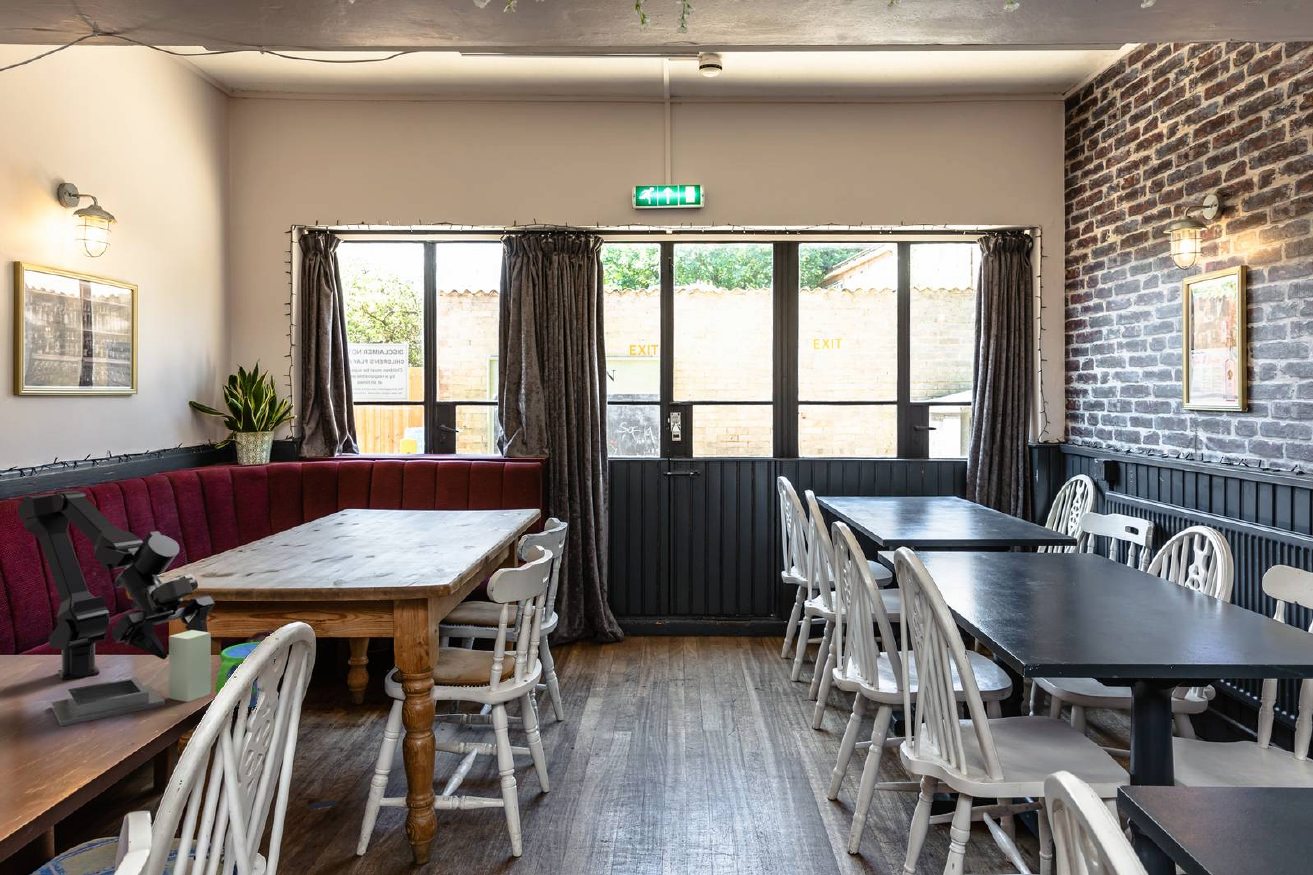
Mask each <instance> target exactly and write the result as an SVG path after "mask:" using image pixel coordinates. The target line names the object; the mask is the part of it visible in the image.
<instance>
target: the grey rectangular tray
mask: <svg viewBox="0 0 1313 875" xmlns="http://www.w3.org/2000/svg"><path fill="white" fill-rule="evenodd" d="M165 703H166V702H165V698H163V697H162V696H161V695H160V694H159V692H157V690H156V689H155V687H154V686H152V685H151V684H150V683H149V684H144V685H143V684H142V683H141V681H140V680H138V678H137V677H131V678H125V679H120V680H119V679H118V680H114V681H108V682H102V683H96V684H92V685H91V684H89V685H85V686H79V687H73V688H68V689H67V698H66V699H61V700H57V701H56V700H54V701H51V702H50V708H51V710H52V711H53V714H54V716H55V718H56V720H57V722H58V723H59V726H60V727H63V726H69V725H73V724H80V723H85V722H89V721H94V720H98V719H99V720H100V719H104V718H110V717H115V716H119V715H125V714H129V713H130V714H131V713H135V712H140V711H145V710H150V709H155V708H161V707H165V706H166V705H165Z"/></svg>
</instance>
